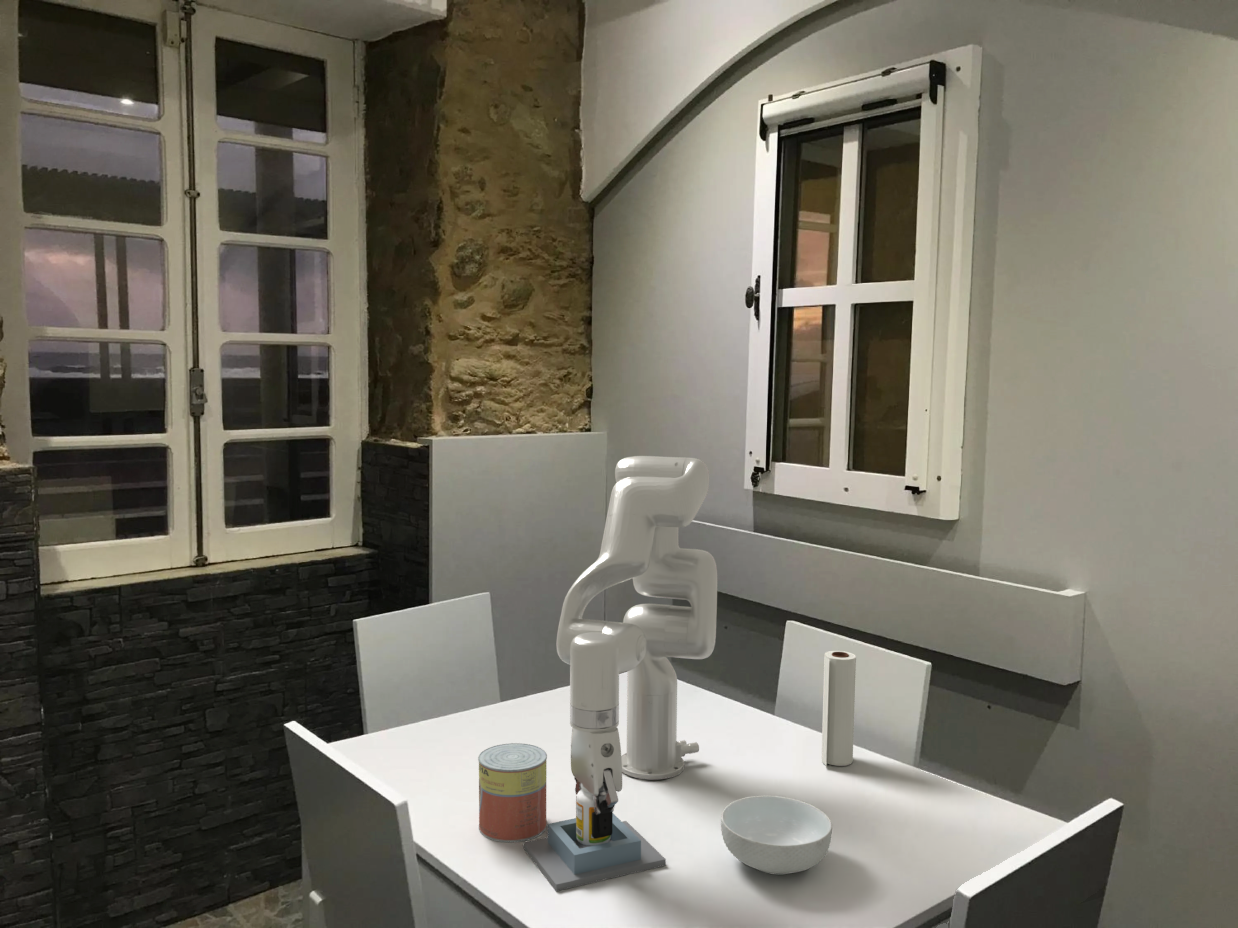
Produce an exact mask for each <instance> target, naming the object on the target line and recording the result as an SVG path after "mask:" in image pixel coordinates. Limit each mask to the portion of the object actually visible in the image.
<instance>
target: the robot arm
mask: <svg viewBox="0 0 1238 928" xmlns="http://www.w3.org/2000/svg"><path fill="white" fill-rule="evenodd" d="M614 477H615V482H616V483H615V484H614V486H613V487H612V490H611V492H610V496H609V497H610V498H609V504H608V508H607V514H606V519H605V524H604V531H603V536H602V541H601V545H600V552H599V555H598V558H597V559H596V560H595V562H594V563H592V564H591V565H589V566H588V567H587V568H586V569H585V570H584V571H582V573H581V574H580V575H579V576H578V577H577V579H575V581H574V582H573V584H572V585H571V587H570V588H569V589H568V592H567V593H566V595H565V597H564V600H563V603H562V607H561V613H560V617H559V622H558V627H557V634H556V642H555V643H556V653H557V655H558V658H559V659H560V660H561V661H562V662H563V663H565V664H567V665H569V724H570V727H571V737H570V738H571V739H570V770H571V774H572V776H573V778H574V780H575V789H574V791H575V795H576V797H575V799H576V798H577V794H578V792H579V791H580V790H581V783H582V784H583V786H584V787H585V788H586V789H587V790H588V791H589V792H590V793H591V794H592V795H593V803H594V811H595V812H592V837H593V838H594V839H597V838H601V837H606V836H610V835H612V817H613V814H614V813H613V812H614V809H615V806H616V805H617V804H618V802H619V798H618V792H621V791H622V789H623V774H625V775H627V776H629V777H633V778H636V779H640V780H647V781H649V780H652V781H654V780H666V779H669V778H673V777H676V776H679V774H681V773H682V772H683V771H684V770H685V760H684V758H683V757H685V756H686V755H688V754H690V755H691V754H696V753H699V751H700V745H699V743H698V742H697V741H695V742H690V743H687V740H685V739H683V740H679V741H678V740H677V737H678V736H677V735H678V734H677V731H678V730H677V728H678V727H677V726H678V723H677V722H678V676H677V673H676V671H675V669H674V667H673V664H672V663H671V661H670V660H669V659H668V658H678V659H679V658H680V659H692V660H703V659H707V658H709V657H710V656H711V655H712V653H713V652H714V649H715V646H716V639H717V611H718V610H717V609H718V568H717V563H716V560H715V558H714V556H713V555H712V553H710V552H709V551H707V550H703V549H698V548H684V547H683V548H681V547H680V545H679V529H680V528H685V527H687V526H689V525H691V523H692V522H693V521H694V519H695V518H696V515H697V514H698V512H699V510H700V508H701V507H702V505H703V503H704V501H705V499H706V498H707V495H708V492H709V486H710V473H709V469H708V466H707V464H706V463H705V462H704V461H703V460H701V458H700V459H699V458H695V457H679V456H678V457H677V456H660V455H659V456H657V455H655V456H654V455H634V456H627V457H624V458H621V459H620V460H619V461H617V463H616V466H615V469H614ZM631 579H632V583H633V584H632V585H633V587H634V590H635V591H636V592H637V593H638V594H640V595H642V596H645V597H651V598H657V599H660V598H661V599H662V598H663V599H670V600H671V599H672V600H685V601H687V602H688V603H689V604H690V606H683V605H681V606H680V605H672V604H661V603H660V604H658V603H640V604H636V605H634V606H632V607H630V608H629V609H628V610H627V611H626V612H625V613H624V614H625V615H624V617H623V620H622V622H619V621H610V620H603V619H602V620H601V619H600V620H599V619H589V618H583V616H584V612H585V610H586V608H587V606H588V605H589V603H590V602H591V601H592V600H593V599H594V597H596V596H597V595H598V594H600V593H602V592H603V591H605V590H606V589H608V588H611V587H613V586H616V585H618V584H620V583H624V582H627V581H629V580H631ZM624 673H626V674H627V677H626V681H627V683H626V685H627V686H626V689H627V691H626V752H625V753H624V754H622V749H621V748H622V747H621V739H620V734H619V733H620V732H619V729H618V727H619V724H620V674H624ZM601 787H604V789H605V790H604V791H599V788H601ZM605 795H606V798H605V800H603V801H602V802H601V803H600V802H599V796H605Z"/></svg>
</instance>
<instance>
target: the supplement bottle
mask: <svg viewBox="0 0 1238 928" xmlns="http://www.w3.org/2000/svg"><path fill="white" fill-rule="evenodd" d="M604 790H605V789H604V787H601V788H599V791H604ZM576 796H577V798H576V797H575V818H576V837H577V840H578V842H579V843H581V844H583V845H586V846H594V845H599V844H604V843H607V842H608V841H609V840H610V838H611V835H610V836H606V837H601V838H597V839H594V838H593V837H592V812H595V811H594V803H593V795H592V794H591V793H590V792H589V791H588V790H587V789H586V788H585V787H584V786H583V784H582V783H581V790H580V791H579V792H578V794H577V795H576ZM605 798H606V795H605V796H599V802H600V803H601V802H602V801H603V800H605Z"/></svg>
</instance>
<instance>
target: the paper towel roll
mask: <svg viewBox="0 0 1238 928" xmlns="http://www.w3.org/2000/svg"><path fill="white" fill-rule="evenodd" d="M823 656H824V657H823V658H824V659H823V660H824V661H823V662H824V663H823V665H824V666H823V697H822V725H821V727H822V730H821V731H822V733H821V763H822V764H823V765H824V766H825V768H826V769H827V766H828V765H830V766H838V767H843V766H844V767H846V766H850V765H851V764H852V763H853V759H854V732H855V731H854V729H855V728H854V727H855V705H856V703H855V702H856V701H855V699H856V698H855V697H856V696H855V695H856V674H857V673H856V670H857V669H856V667H857V654H854V653H853V652H849V651H844V650H829V651H825V652H824V655H823Z"/></svg>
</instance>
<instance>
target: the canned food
mask: <svg viewBox="0 0 1238 928" xmlns="http://www.w3.org/2000/svg"><path fill="white" fill-rule="evenodd" d="M547 759H548V754H547V751H545V750H544V749H543V748H542V747H539V746H537V745H532V744H528V743H520V742H519V743H517V742H515V743H513V742H511V743H502V744H497V745H492V746H491V747H490V746H489V747H487V748H486V749H484V750H483V751H482V752H480V753H479V755H478V757H477V760H478V831H479V833H480V834H481V835H482V836H483V837H485V838H486V839H488V840H491V841H496V842H501V843H518V842H526V841H530V840H532V839H535V838H537V837H538V836H540V835H542V834H543V833H544V832H545V831H546V829H547V828H548V821H547Z"/></svg>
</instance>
